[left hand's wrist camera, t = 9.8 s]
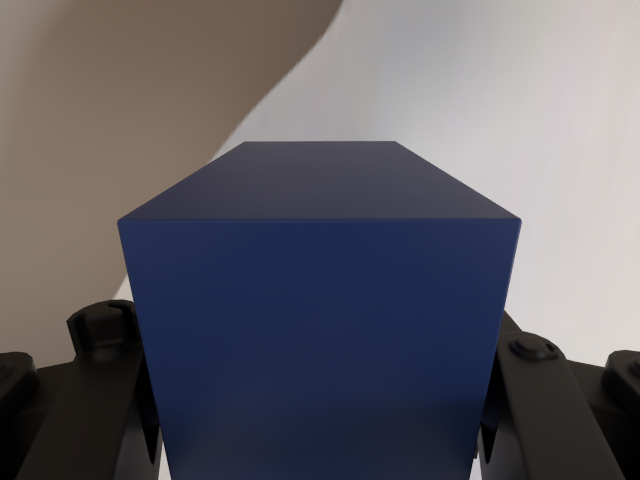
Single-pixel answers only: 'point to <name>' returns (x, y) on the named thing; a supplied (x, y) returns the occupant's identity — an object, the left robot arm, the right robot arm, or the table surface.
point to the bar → (319, 313)
